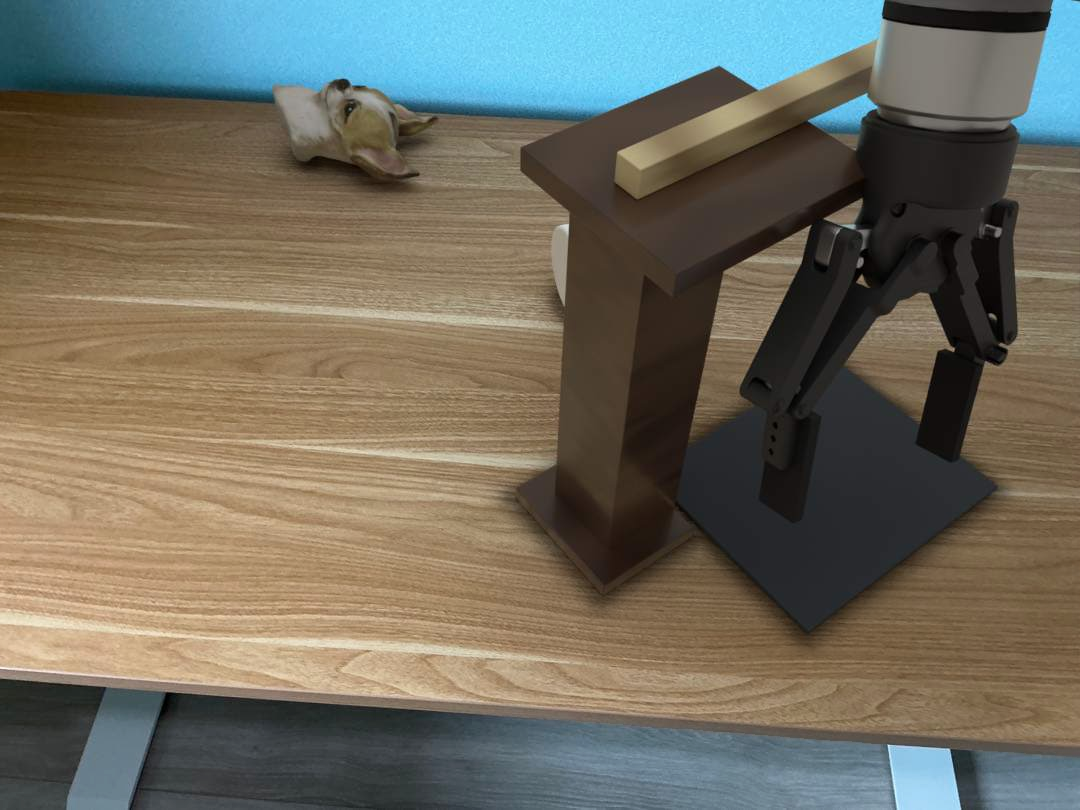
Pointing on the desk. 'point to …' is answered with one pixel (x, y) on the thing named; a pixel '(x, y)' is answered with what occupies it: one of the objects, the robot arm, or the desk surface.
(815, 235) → the robot arm
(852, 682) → the desk surface
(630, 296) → the stand
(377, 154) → the ceramic sculpture
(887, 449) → the mat
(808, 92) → the wooden stick
